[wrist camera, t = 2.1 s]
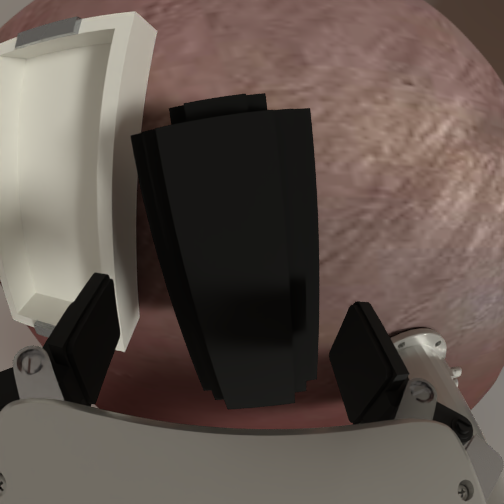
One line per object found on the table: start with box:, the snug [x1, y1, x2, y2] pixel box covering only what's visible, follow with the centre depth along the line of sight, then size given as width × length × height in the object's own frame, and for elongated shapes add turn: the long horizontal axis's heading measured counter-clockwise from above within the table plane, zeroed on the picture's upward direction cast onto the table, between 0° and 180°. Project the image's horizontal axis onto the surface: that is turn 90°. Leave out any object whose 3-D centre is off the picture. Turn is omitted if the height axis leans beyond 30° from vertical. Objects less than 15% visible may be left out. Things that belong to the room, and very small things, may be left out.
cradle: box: [0, 12, 157, 352], centre depth 16 cm, size 12×23×5 cm, turn 171°
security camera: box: [130, 93, 319, 409], centre depth 17 cm, size 7×18×10 cm, turn 7°
